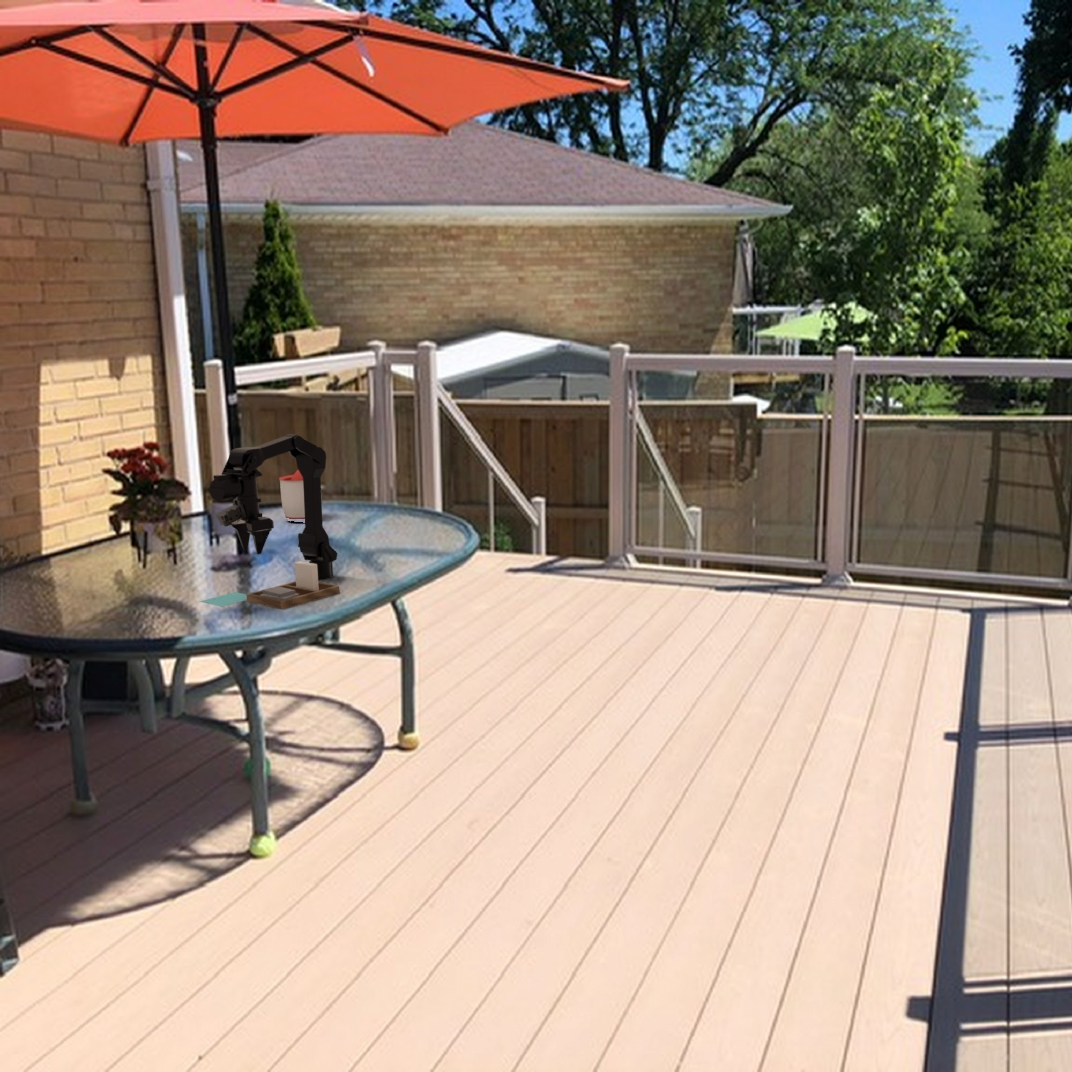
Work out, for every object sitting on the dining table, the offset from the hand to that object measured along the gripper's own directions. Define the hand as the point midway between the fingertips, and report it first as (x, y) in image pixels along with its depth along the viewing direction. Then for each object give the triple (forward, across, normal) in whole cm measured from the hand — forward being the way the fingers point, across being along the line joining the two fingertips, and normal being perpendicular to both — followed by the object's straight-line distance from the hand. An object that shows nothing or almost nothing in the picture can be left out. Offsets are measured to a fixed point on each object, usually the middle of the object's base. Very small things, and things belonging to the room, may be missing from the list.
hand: (252, 551), depth 302 cm
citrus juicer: (+16, -104, +64) cm, 123 cm away
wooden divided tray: (+14, +7, +8) cm, 18 cm away
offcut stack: (+13, +9, +3) cm, 16 cm away
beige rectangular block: (+13, +6, +13) cm, 19 cm away
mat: (+14, -3, -7) cm, 16 cm away
